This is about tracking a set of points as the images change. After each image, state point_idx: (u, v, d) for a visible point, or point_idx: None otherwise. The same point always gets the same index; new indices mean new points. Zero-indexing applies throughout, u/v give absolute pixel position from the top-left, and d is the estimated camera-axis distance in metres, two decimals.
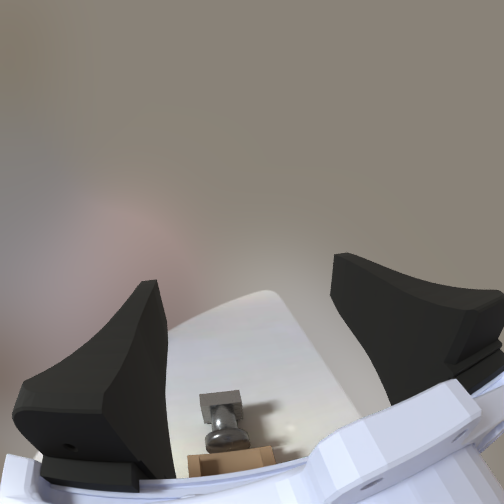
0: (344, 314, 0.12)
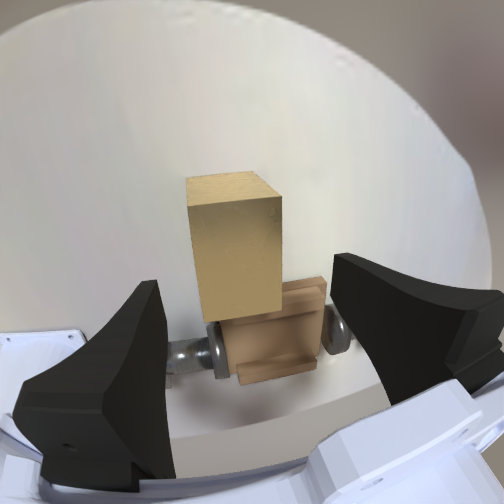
0: (344, 314, 0.12)
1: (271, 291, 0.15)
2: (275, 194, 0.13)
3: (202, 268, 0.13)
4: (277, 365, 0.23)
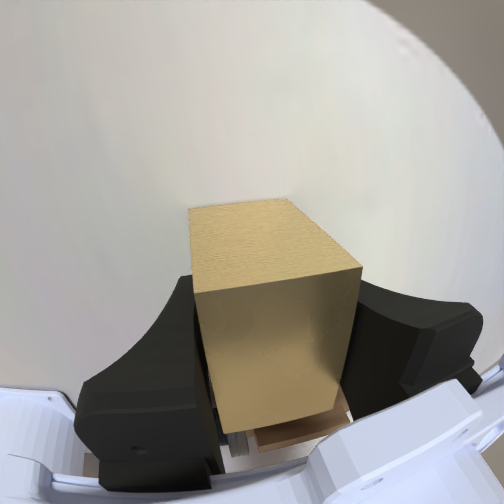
0: None
1: (323, 393, 0.09)
2: (350, 261, 0.07)
3: (222, 379, 0.08)
4: (304, 429, 0.17)
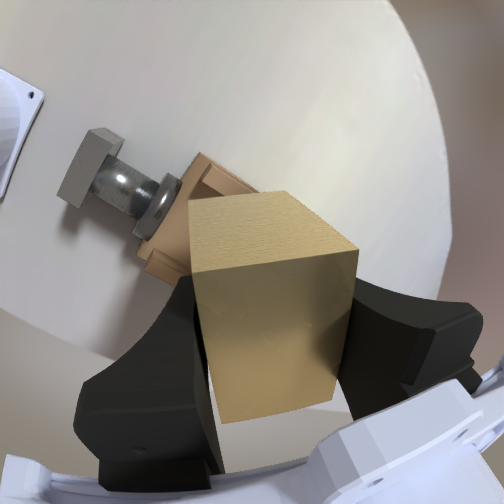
0: None
1: (322, 382, 0.09)
2: (346, 244, 0.07)
3: (220, 365, 0.08)
4: None
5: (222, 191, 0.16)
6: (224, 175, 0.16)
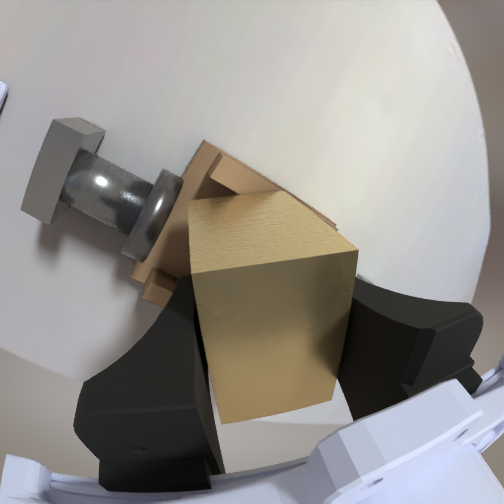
0: None
1: (321, 382, 0.09)
2: (346, 245, 0.07)
3: (220, 365, 0.08)
4: None
5: (238, 189, 0.12)
6: (240, 167, 0.12)
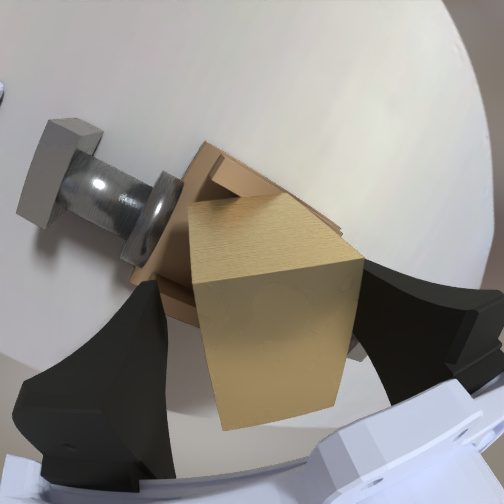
0: None
1: (324, 389, 0.09)
2: (351, 252, 0.07)
3: (221, 374, 0.07)
4: None
5: (241, 192, 0.12)
6: (242, 170, 0.11)
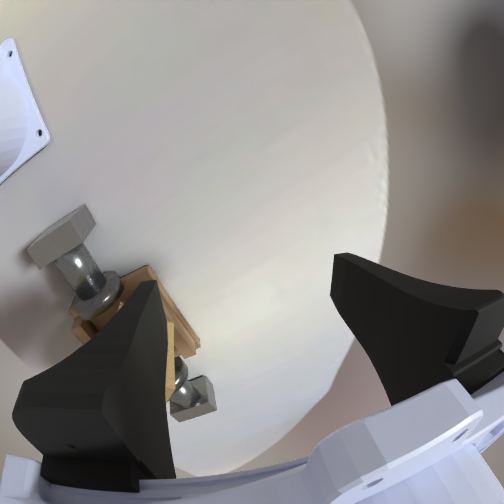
0: (344, 314, 0.12)
1: None
2: (172, 384, 0.15)
3: None
4: None
5: None
6: None
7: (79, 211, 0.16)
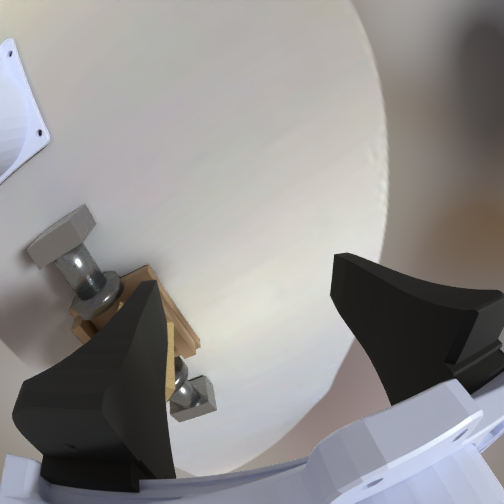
0: (344, 314, 0.12)
1: None
2: (172, 384, 0.15)
3: None
4: None
5: None
6: None
7: (79, 211, 0.16)
